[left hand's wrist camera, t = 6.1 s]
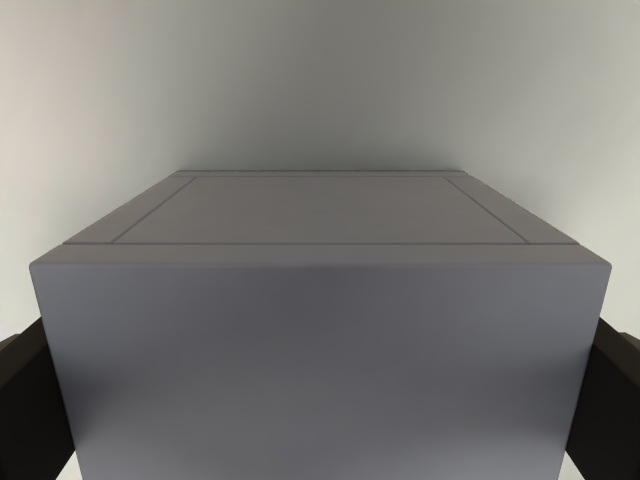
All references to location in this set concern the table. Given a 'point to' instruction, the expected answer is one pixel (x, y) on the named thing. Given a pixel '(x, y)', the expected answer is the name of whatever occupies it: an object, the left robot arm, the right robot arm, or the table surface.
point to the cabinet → (320, 330)
